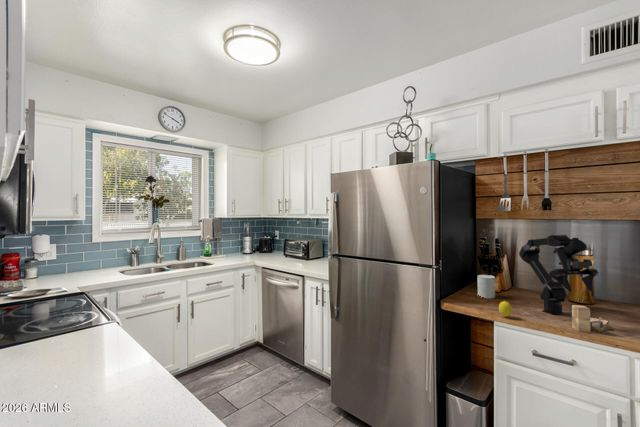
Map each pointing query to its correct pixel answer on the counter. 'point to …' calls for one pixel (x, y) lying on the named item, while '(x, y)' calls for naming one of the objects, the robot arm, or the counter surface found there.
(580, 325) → the oak block
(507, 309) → the lemon
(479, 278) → the white cylinder
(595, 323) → the wire stand
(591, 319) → the pad
